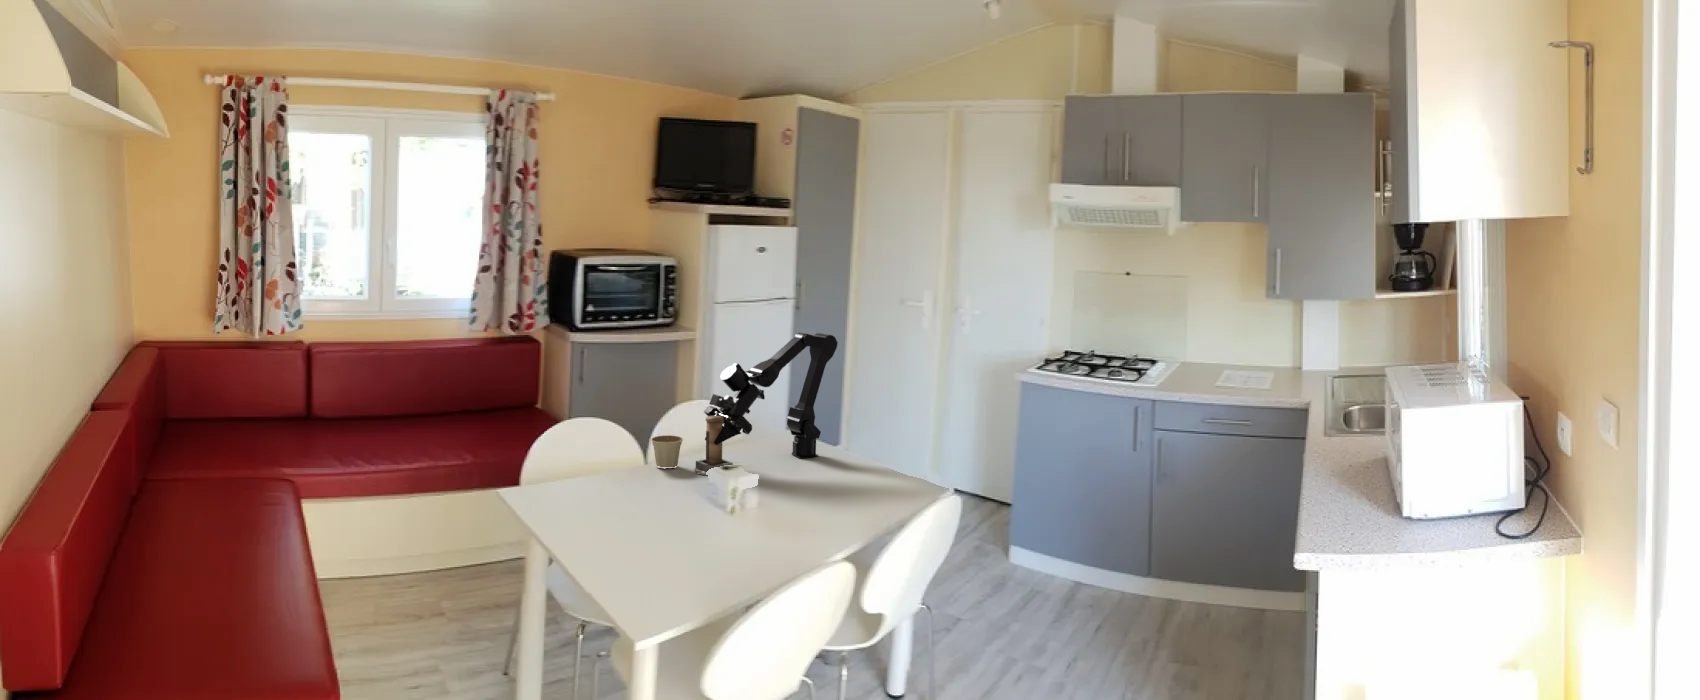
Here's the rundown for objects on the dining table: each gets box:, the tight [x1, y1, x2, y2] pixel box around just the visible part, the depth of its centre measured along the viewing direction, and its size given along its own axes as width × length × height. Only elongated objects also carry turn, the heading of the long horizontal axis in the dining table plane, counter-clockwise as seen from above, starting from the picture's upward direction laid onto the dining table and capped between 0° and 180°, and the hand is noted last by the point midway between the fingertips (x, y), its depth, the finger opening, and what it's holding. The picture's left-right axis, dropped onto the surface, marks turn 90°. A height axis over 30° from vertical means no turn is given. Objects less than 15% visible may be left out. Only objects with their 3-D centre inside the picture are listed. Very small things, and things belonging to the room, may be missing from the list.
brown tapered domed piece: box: [705, 415, 724, 465], centre depth 301 cm, size 5×5×14 cm
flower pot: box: [650, 434, 684, 467], centre depth 304 cm, size 9×9×9 cm
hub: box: [693, 458, 734, 476], centre depth 302 cm, size 12×12×3 cm
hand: (710, 442), depth 300 cm, fingers closed on brown tapered domed piece, 5 cm apart
